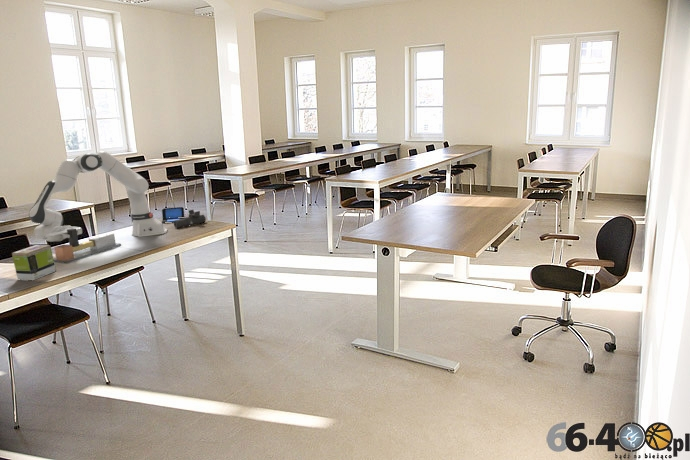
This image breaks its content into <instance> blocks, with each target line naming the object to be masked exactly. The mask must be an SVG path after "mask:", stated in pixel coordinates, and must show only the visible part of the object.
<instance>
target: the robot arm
mask: <svg viewBox="0 0 690 460" xmlns="http://www.w3.org/2000/svg"><path fill="white" fill-rule="evenodd" d="M98 169H100V170H102V171H103V172H104V173H106V174H107V175H109V176H110V177H111V178H113V179H114V180H116V181H117V182H119V183H120V184H122V185H123V186H124V187H125V190H126V194H127V197H128V201H129V205H130V211H131V214H130V215H131V216H130V218H131V222H132V233H131V235H132V236H133V237H138V238H142V237H150V236H158V235H163V234H166V233H167V232H168V231H167V230H168V228H165V227H164V224H162V220H159V219H157V218H156V217H154V213H153V212H151V211H150V207H149V201H148V198H147V195H146V192H147V191H148V190H149V182H148V181H147V179H146V178H145V177H143V176H142V175H141V174H139V173H138V172H136V171H135V170H133V169H131V168H130V167H129V166H127V165H125V164H124V163H123V162H122V161H120V160H119V159H118V158H116V157H115V156H114V155H113V154H111V153H109V152H107V151H105V150H100V151H97V153H83V154H80V155H78V156H76V157H75V158H74V159H69V158H68V159H64V160H63V161H62V162H61V163H60V165H59V167H58V169H57V172H56V174H55V176H54V178H53V179H52V180H50V181H48V182H47V183H46V184H45V185H44V186H43V189H42V190H41V193H40V194H39V196H38V198H37V199H36V201H35V203H34V205H32V207H31V208H30V210H29V212H28V217H29V220H30V221H31V222H32V223H34V224H39V225H37V226H35V228H34V229H33V234H34V235H35V237H36V238H38V239H39V240H43V241H46V242H53V243H54V242H61V241H64V240H65V239H68V238H70V237H71V234H68V233H67V229H71V228H72V229H76V230H77V236H79V235H82V234H83V228H82V227H80V226H71V225H69V224H68V225H67V224H66V225H63V224H64V216H63V215H62V214H63V213H61V212H59V211H57V210H54V209H50V208H47V207H46V206H47V204H48V202H49V201H50V199H51V197H52V195H54V194H55V193H65V192H69V191H71V190H72V189H73V188H74V187H75V185H76V182H77V178H78V176H79V174H80V173H91V172H93V171H96V170H98Z"/></svg>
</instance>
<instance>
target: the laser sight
mask: <svg viewBox="0 0 690 460" xmlns="http://www.w3.org/2000/svg"><path fill="white" fill-rule="evenodd" d="M206 221H207V219H206V216H205V214H201V212H200V210H198V211H194V209H190V210H189V209H188V216H187V217H185V216H184V219H179V220H174V223H173V226H174V228H175V229H179V227H180V228H184V226H185V227H187V226H188V227H190V226H189V225H192V226H195V225H194V224H197V225H200V224H199V223H202V224H203V222H206Z"/></svg>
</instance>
